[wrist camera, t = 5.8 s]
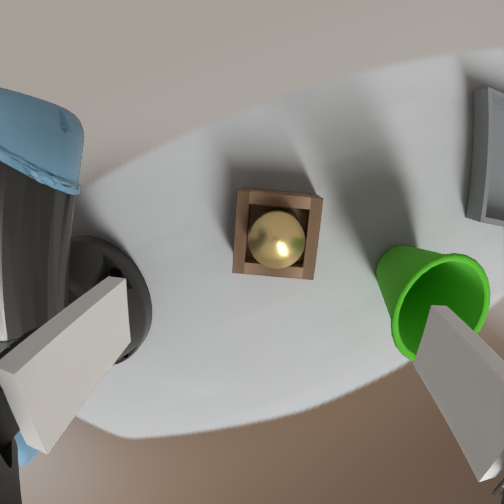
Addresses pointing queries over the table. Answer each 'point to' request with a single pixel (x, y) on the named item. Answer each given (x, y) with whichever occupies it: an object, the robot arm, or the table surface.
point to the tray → (487, 158)
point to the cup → (429, 291)
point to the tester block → (260, 201)
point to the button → (276, 239)
